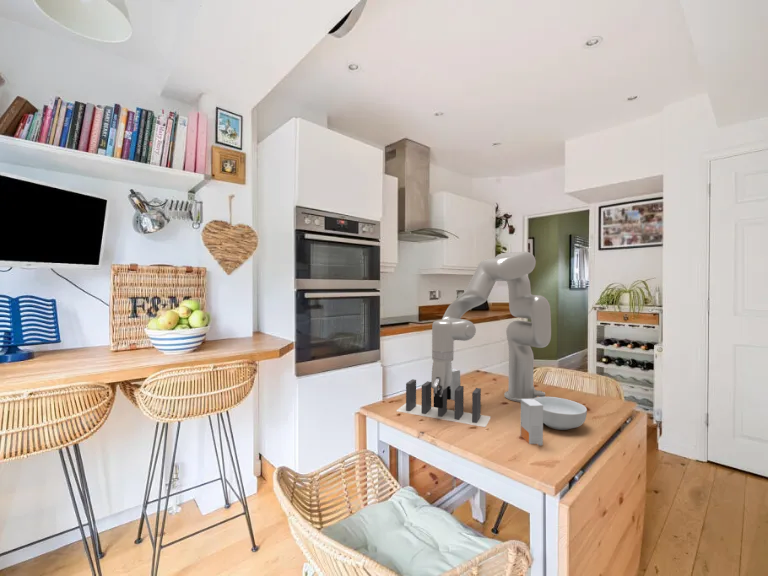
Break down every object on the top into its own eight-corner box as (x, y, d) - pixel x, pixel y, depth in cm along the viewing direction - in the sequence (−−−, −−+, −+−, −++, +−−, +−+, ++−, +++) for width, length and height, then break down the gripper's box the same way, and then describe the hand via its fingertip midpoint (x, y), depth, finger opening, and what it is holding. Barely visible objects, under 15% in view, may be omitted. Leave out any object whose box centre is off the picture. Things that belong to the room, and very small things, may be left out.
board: (491, 418, 126) (491, 416, 126) (485, 428, 117) (485, 427, 117) (406, 404, 140) (406, 402, 140) (395, 412, 131) (395, 410, 131)
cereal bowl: (567, 440, 108) (567, 417, 108) (520, 422, 122) (520, 401, 122) (597, 428, 117) (597, 407, 117) (550, 412, 131) (550, 393, 131)
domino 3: (437, 416, 126) (438, 387, 126) (442, 410, 131) (442, 383, 131) (442, 416, 125) (442, 388, 125) (447, 411, 131) (447, 383, 130)
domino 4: (463, 414, 128) (463, 386, 128) (459, 419, 123) (459, 390, 122) (458, 413, 129) (459, 385, 128) (454, 419, 123) (454, 390, 123)
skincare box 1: (461, 399, 145) (461, 369, 145) (454, 402, 142) (454, 371, 142) (449, 395, 150) (449, 367, 150) (442, 398, 147) (442, 368, 147)
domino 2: (431, 408, 133) (431, 381, 133) (425, 414, 128) (425, 386, 128) (427, 407, 134) (427, 381, 134) (421, 413, 129) (421, 385, 128)
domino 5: (480, 417, 125) (480, 388, 125) (476, 423, 120) (477, 393, 120) (475, 416, 126) (476, 387, 126) (472, 422, 121) (472, 392, 120)
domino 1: (416, 406, 136) (416, 379, 136) (410, 411, 131) (410, 383, 130) (412, 405, 137) (412, 379, 136) (406, 410, 131) (406, 383, 131)
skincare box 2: (519, 437, 111) (520, 398, 110) (533, 436, 111) (533, 398, 111) (529, 446, 105) (529, 405, 104) (543, 445, 105) (543, 405, 105)
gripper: (439, 350, 137) (439, 394, 138) (424, 359, 122) (424, 409, 122) (459, 351, 134) (459, 397, 134) (445, 361, 118) (445, 412, 119)
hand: (442, 403), depth 128 cm, fingers open, 9 cm apart
